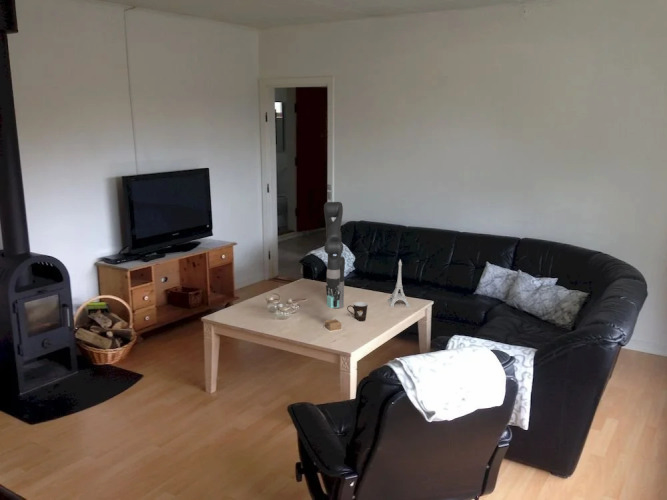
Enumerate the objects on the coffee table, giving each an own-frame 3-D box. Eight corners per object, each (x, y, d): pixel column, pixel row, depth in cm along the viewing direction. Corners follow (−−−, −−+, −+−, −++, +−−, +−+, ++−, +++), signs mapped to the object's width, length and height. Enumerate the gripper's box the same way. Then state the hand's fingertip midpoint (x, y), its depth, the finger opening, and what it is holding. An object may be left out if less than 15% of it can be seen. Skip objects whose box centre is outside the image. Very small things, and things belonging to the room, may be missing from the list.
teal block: (326, 305, 343) (327, 295, 341) (334, 304, 345) (334, 294, 344) (330, 308, 338) (331, 297, 337) (338, 307, 341) (338, 296, 339)
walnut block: (324, 327, 346) (324, 320, 345) (335, 325, 349) (335, 319, 348) (330, 331, 340) (330, 324, 339) (341, 329, 343) (341, 322, 342)
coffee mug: (369, 319, 365) (370, 303, 363) (363, 323, 358) (363, 307, 356) (353, 315, 371) (353, 300, 369) (346, 319, 364) (346, 303, 362)
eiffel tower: (386, 300, 403) (388, 257, 396) (406, 300, 404) (408, 257, 397) (390, 307, 390) (391, 262, 383) (410, 306, 391) (412, 262, 384)
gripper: (321, 274, 342) (321, 302, 346) (333, 280, 330) (332, 309, 334) (333, 272, 346) (333, 301, 349) (345, 278, 333) (344, 308, 337)
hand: (332, 305), depth 341 cm, fingers closed on teal block, 5 cm apart
